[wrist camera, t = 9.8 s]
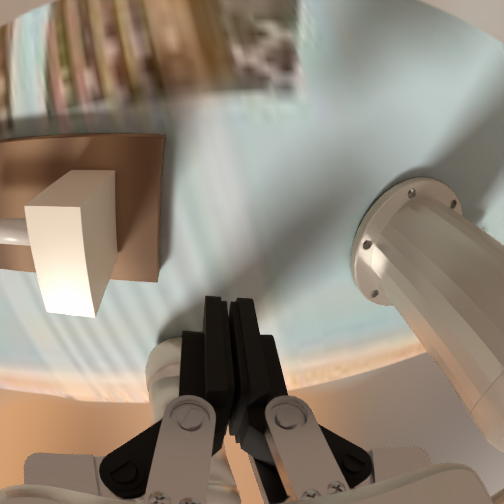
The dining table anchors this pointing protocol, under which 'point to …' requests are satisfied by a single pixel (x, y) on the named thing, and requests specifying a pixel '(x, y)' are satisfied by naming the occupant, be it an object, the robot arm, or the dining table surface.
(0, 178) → the base
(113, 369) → the dining table surface
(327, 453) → the robot arm
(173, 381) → the plastic bottle
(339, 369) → the dining table surface
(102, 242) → the plunger
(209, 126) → the dining table surface
